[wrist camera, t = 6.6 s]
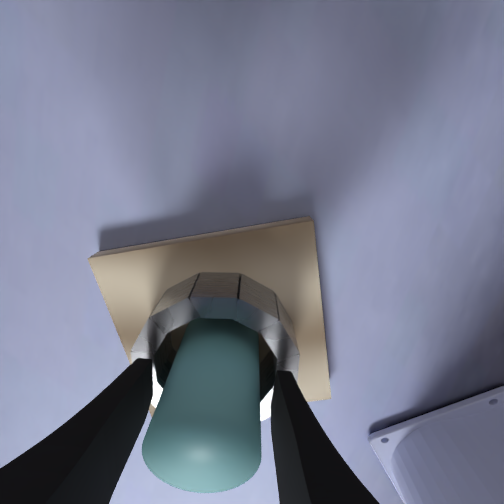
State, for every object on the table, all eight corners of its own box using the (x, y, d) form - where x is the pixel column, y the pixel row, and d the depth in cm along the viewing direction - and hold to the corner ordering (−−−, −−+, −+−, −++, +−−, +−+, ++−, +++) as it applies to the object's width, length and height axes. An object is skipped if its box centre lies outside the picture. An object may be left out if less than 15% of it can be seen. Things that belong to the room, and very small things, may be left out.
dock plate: (98, 251, 14) (87, 258, 13) (309, 216, 13) (313, 220, 12) (158, 407, 18) (153, 421, 17) (326, 385, 17) (331, 398, 16)
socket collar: (248, 246, 13) (247, 267, 11) (313, 358, 15) (325, 395, 13) (123, 312, 14) (97, 343, 12) (200, 406, 16) (191, 448, 14)
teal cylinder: (234, 295, 14) (221, 394, 8) (271, 351, 15) (282, 471, 9) (170, 327, 14) (117, 439, 9) (210, 378, 16) (185, 505, 10)
